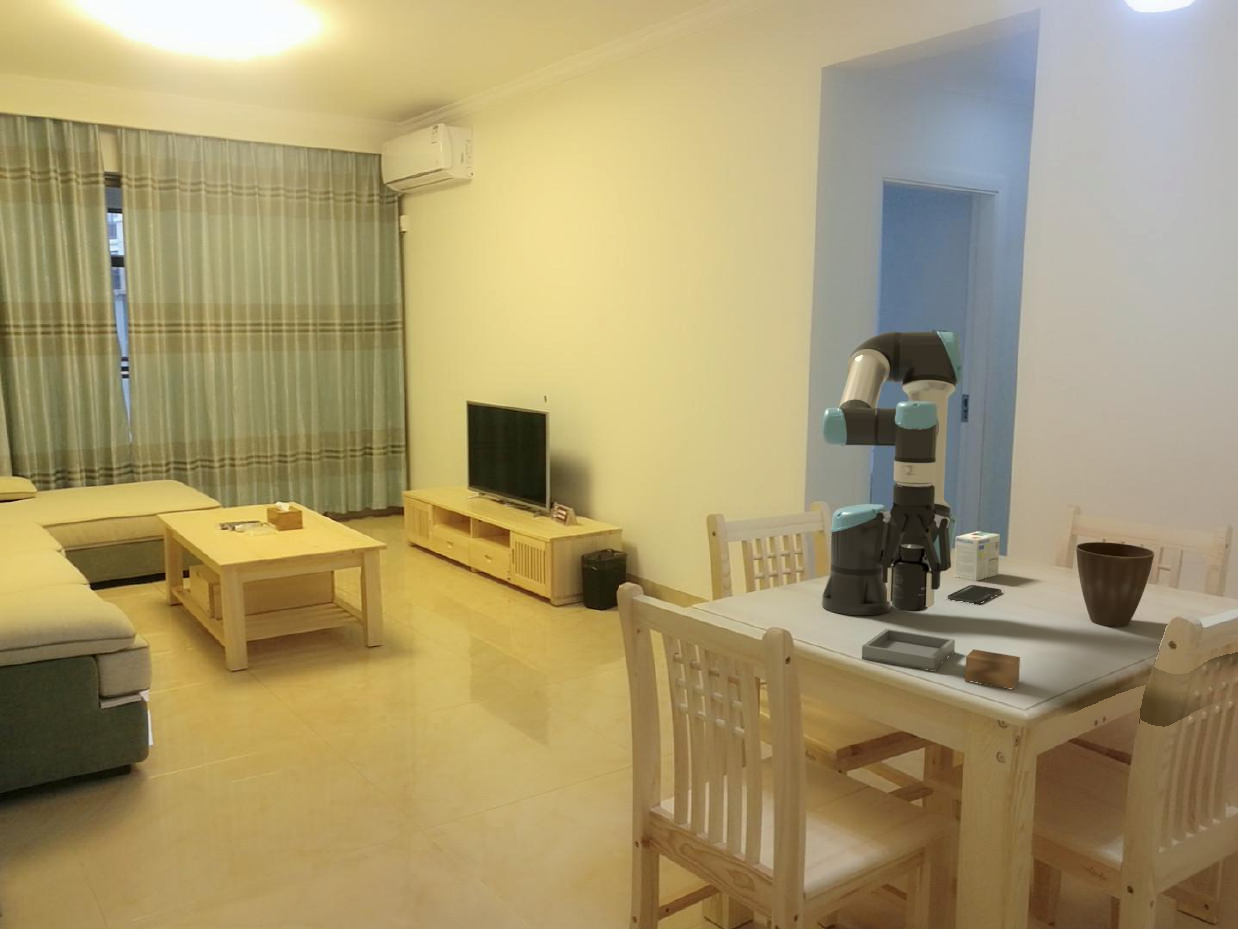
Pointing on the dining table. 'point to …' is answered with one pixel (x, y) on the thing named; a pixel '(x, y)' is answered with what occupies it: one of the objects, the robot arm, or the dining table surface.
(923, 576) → the supplement bottle
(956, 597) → the phone
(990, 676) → the block
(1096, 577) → the plant pot
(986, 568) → the light bulb box
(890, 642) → the tray
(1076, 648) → the dining table surface
